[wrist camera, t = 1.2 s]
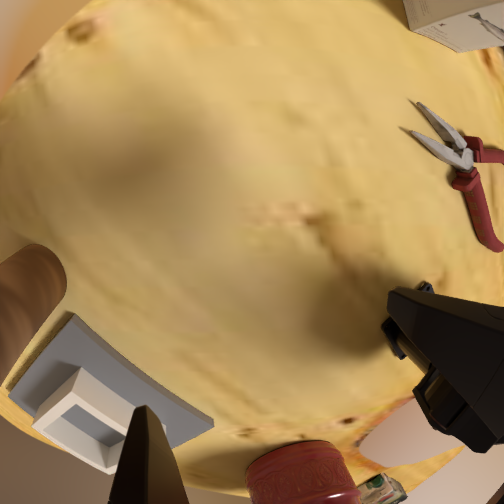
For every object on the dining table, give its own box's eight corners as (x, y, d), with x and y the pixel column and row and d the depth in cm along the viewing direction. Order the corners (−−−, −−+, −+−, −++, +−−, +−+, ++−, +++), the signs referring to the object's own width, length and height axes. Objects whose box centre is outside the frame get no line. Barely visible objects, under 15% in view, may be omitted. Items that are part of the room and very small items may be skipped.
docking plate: (213, 419, 24) (217, 451, 21) (121, 465, 25) (118, 490, 21) (75, 313, 19) (56, 342, 15) (10, 390, 20) (-3, 414, 16)
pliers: (418, 66, 18) (437, 61, 15) (512, 169, 24) (528, 172, 21) (384, 178, 21) (404, 182, 18) (488, 251, 26) (503, 258, 24)
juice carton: (338, 494, 39) (349, 516, 33) (381, 469, 39) (395, 491, 33) (366, 501, 46) (375, 517, 41) (399, 480, 46) (410, 496, 40)
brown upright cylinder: (79, 280, 18) (-2, 394, 7) (47, 317, 18) (-21, 424, 7) (34, 229, 16) (-78, 303, 5) (6, 272, 17) (-84, 355, 5)
